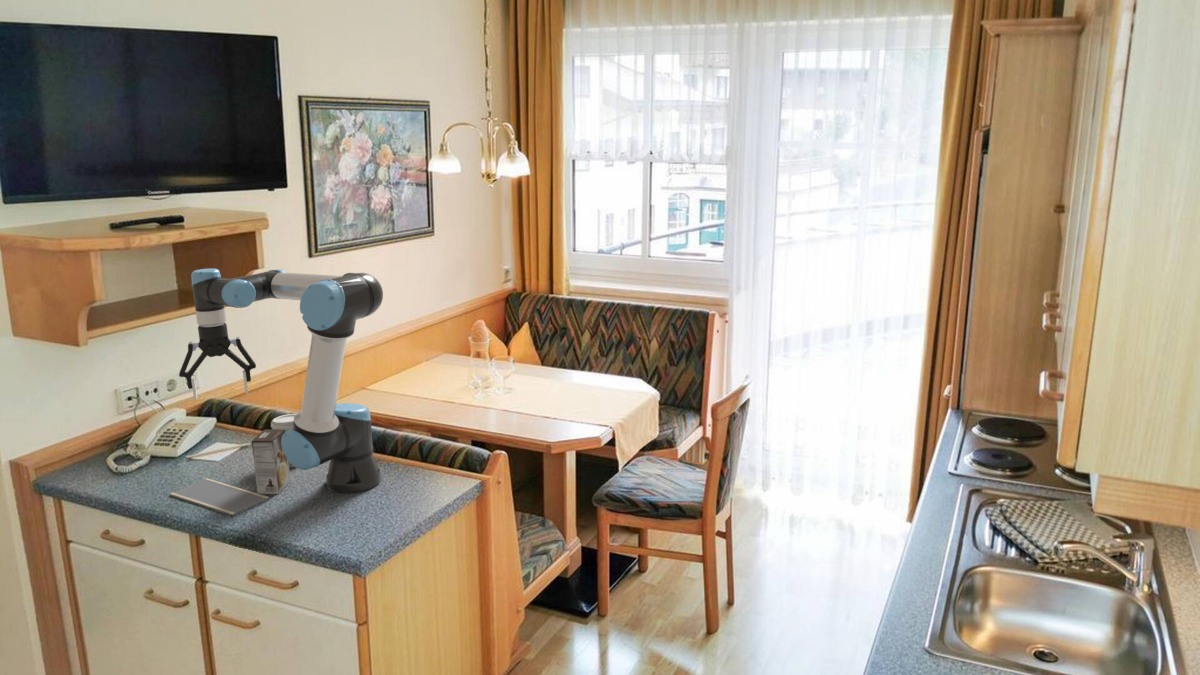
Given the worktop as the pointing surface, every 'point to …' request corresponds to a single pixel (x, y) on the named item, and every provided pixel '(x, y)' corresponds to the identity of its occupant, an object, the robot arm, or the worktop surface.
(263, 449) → the coffee box
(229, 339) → the robot arm
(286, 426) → the disposable coffee cup
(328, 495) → the worktop surface
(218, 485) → the felt mat
